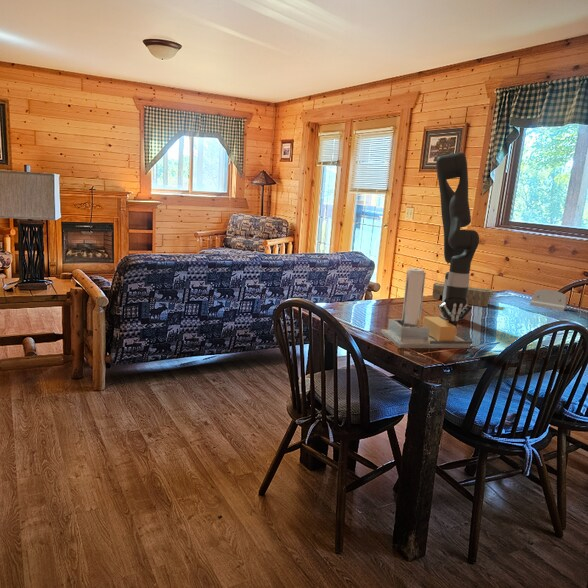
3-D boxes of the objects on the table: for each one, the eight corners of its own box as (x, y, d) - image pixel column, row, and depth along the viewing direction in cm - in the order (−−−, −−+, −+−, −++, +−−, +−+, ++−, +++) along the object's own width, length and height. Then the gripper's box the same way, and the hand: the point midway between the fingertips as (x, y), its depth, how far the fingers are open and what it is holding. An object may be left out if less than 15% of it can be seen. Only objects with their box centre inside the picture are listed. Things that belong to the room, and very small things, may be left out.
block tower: (430, 300, 263) (489, 307, 250) (432, 284, 262) (491, 290, 249) (434, 297, 270) (491, 304, 257) (435, 282, 269) (493, 288, 255)
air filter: (418, 339, 180) (426, 271, 175) (400, 337, 182) (407, 269, 177) (417, 334, 187) (425, 268, 182) (400, 332, 188) (407, 267, 183)
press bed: (448, 333, 197) (450, 317, 196) (472, 347, 180) (474, 330, 178) (380, 333, 191) (382, 316, 190) (399, 348, 174) (401, 330, 173)
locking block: (436, 330, 193) (438, 316, 192) (454, 341, 180) (456, 326, 179) (421, 330, 192) (423, 316, 191) (438, 341, 179) (440, 326, 178)
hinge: (529, 304, 262) (533, 286, 262) (530, 306, 266) (535, 288, 266) (564, 311, 252) (568, 291, 253) (565, 312, 256) (570, 293, 256)
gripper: (468, 282, 188) (462, 327, 192) (436, 282, 185) (430, 327, 189) (479, 286, 181) (473, 333, 184) (446, 286, 178) (440, 333, 182)
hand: (451, 330), depth 187 cm, fingers closed
